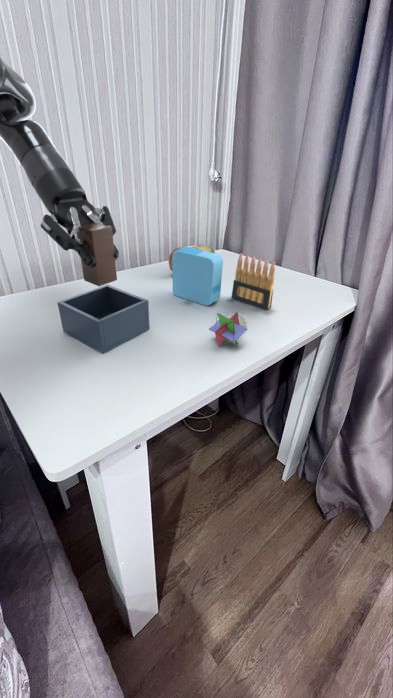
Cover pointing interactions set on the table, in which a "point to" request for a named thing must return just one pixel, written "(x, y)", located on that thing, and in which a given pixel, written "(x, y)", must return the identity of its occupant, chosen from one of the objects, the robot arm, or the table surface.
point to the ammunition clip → (254, 283)
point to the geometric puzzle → (229, 328)
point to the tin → (200, 247)
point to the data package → (197, 275)
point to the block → (99, 253)
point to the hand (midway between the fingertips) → (105, 261)
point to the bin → (104, 317)
